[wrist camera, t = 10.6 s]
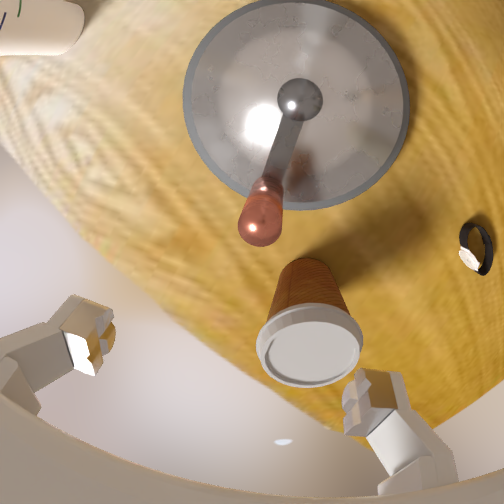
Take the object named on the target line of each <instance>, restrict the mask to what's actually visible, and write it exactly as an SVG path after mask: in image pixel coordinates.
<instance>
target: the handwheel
mask: <svg viewBox="0 0 504 504" xmlns="http://www.w3.org/2000/svg"><path fill="white" fill-rule="evenodd" d="M191 103H192V113H193V119H194V124H195V127H196V130H197V133H198V135H199V138H200V140H201V142H202V144H203V146H204V148H205V149H206V151H207V152H208V154H209V155H210V157H211V158H212V159H213V161H214V162H215V163H216V164H217V165H218V166H219V168H220V169H221V170H222V171H224V172H225V173H226V174H227V175H228V176H229V177H230V178H231V179H233V180H234V181H236V182H237V183H238V184H240V185H241V186H243V187H245V188H247V189H249V190H250V193H249V195H248V198H247V200H246V203H245V205H244V208H243V210H242V213H241V215H240V218H239V221H238V231H239V233H240V235H241V237H242V238H243V239H244V240H245V241H246V242H247V243H249V244H251V245H253V246H258V247H264V246H268V245H270V244H272V243H274V242H275V241H276V240H277V239H278V238H279V236H280V234H281V231H282V215H283V201H286V202H299V203H307V202H318V201H323V200H327V199H332V198H335V197H337V196H340V195H343V194H345V193H347V192H349V191H351V190H353V189H355V188H357V187H358V186H360V185H361V184H363V183H364V182H366V181H367V180H368V179H369V178H370V177H372V176H373V175H374V174H375V173H376V172H377V171H378V170H379V169H380V167H381V166H382V165H383V164H384V163H385V161H386V160H387V158H388V157H389V155H390V154H391V152H392V150H393V148H394V146H395V144H396V142H397V139H398V136H399V132H400V129H401V124H402V118H403V96H402V89H401V85H400V81H399V77H398V74H397V72H396V69H395V67H394V64H393V62H392V61H391V59H390V57H389V55H388V54H387V52H386V51H385V49H384V48H383V47H382V45H381V44H380V43H379V41H378V40H377V39H376V38H375V37H374V36H373V35H372V34H371V33H370V32H369V31H368V30H366V29H365V28H364V27H363V26H361V25H360V24H359V23H358V22H356V21H354V20H353V19H351V18H349V17H348V16H346V15H344V14H342V13H339V12H337V11H335V10H332V9H329V8H326V7H323V6H319V5H314V4H307V3H279V4H273V5H268V6H264V7H260V8H258V9H255V10H252V11H250V12H247V13H246V14H244V15H242V16H240V17H238V18H236V19H235V20H234V21H232V22H231V23H229V24H228V25H227V26H225V27H224V28H223V29H222V30H221V31H220V32H219V33H218V34H217V35H216V36H215V37H214V38H213V40H212V41H211V42H210V44H209V45H208V46H207V48H206V49H205V51H204V53H203V55H202V56H201V58H200V61H199V63H198V66H197V68H196V71H195V75H194V79H193V83H192V93H191Z"/></svg>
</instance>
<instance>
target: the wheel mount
mask: <svg viewBox="0 0 504 504" xmlns="http://www.w3.org/2000/svg"><path fill="white" fill-rule="evenodd" d="M279 3H307V4H314V5H319V6H323V7H326V8H329V9H332V10H335V11H337V12H339V13H342V14H344V15H346V16H348V17H349V18H351V19H353V20H354V21H356V22H358V23H359V24H360V25H361V26H363V27H364V28H365V29H366V30H368V31H369V32H370V33H371V34H372V35H373V36H374V37H375V38H376V39H377V40H378V41H379V43H380V44H381V45H382V47H383V48H384V49H385V51H386V52H387V54H388V55H389V57H390V59H391V61H392V62H393V64H394V67H395V69H396V72H397V74H398V77H399V81H400V85H401V89H402V96H403V118H402V124H401V129H400V132H399V136H398V139H397V142H396V144H395V146H394V148H393V150H392V152H391V154H390V155H389V157H388V158H387V160H386V161H385V163H384V164H383V165H382V166H381V167H380V169H379V170H378V171H377V172H376V173H375V174H374V175H373V176H372V177H370V178H369V179H368V180H367V181H366V182H364V183H363V184H361V185H360V186H358V187H357V188H355V189H353V190H351V191H349V192H347V193H345V194H343V195H340V196H337V197H335V198H332V199H327V200H323V201H318V202H307V203H299V202H286V201H283V209H285V210H299V211H301V210H316V209H322V208H328V207H331V206H334V205H338V204H341V203H343V202H346V201H348V200H350V199H352V198H355V197H356V196H358V195H360V194H361V193H363V192H365V191H366V190H367V189H369V188H370V187H371V186H372V185H374V184H375V183H376V182H377V181H378V180H379V179H380V178H381V177H382V176H383V175H384V174H385V173H386V172H387V171H388V169H389V168H390V166H391V165H392V164H393V162H394V161H395V159H396V157H397V155H398V154H399V152H400V150H401V148H402V145H403V142H404V140H405V137H406V133H407V129H408V124H409V115H410V100H409V91H408V86H407V81H406V78H405V75H404V72H403V69H402V67H401V65H400V62H399V60H398V58H397V56H396V55H395V53H394V51H393V50H392V48H391V47H390V46H389V44H388V43H387V41H386V40H385V39H384V38H383V37H382V36H381V34H380V33H379V32H378V31H377V30H376V29H375V28H374V27H372V26H371V25H370V24H369V23H368V22H367V21H365V20H364V19H362V18H361V17H359V16H358V15H356V14H355V13H353V12H352V11H350V10H348V9H346V8H343V7H341V6H339V5H337V4H334V3H331V2H328V1H325V0H260V1H257V2H254V3H251V4H248V5H246V6H244V7H242V8H240V9H238V10H236V11H234V12H232V13H231V14H229V15H228V16H226V17H225V18H223V19H222V20H221V21H220V22H219V23H217V24H216V25H215V26H214V27H213V28H212V29H211V30H210V31H209V32H208V33H207V35H206V36H205V37H204V38H203V39H202V41H201V42H200V44H199V46H198V47H197V49H196V50H195V52H194V54H193V56H192V59H191V61H190V63H189V65H188V69H187V72H186V76H185V80H184V88H183V111H184V118H185V123H186V126H187V130H188V133H189V136H190V138H191V140H192V143H193V145H194V147H195V149H196V151H197V152H198V154H199V156H200V157H201V159H202V160H203V162H204V163H205V164H206V165H207V167H208V168H209V169H210V170H211V171H212V172H213V173H214V174H215V175H216V176H217V177H218V178H219V179H220V180H221V181H222V182H223V183H225V184H226V185H227V186H228V187H230V188H231V189H232V190H234V191H236V192H237V193H239V194H241V195H242V196H244V197H246V198H248V195H249V193H250V190H249V189H247V188H245V187H243V186H241V185H240V184H238V183H237V182H236V181H234V180H233V179H231V178H230V177H229V176H228V175H227V174H226V173H225V172H224V171H222V170H221V169H220V168H219V166H218V165H217V164H216V163H215V162H214V161H213V159H212V158H211V157H210V155H209V154H208V152H207V151H206V149H205V148H204V146H203V144H202V142H201V140H200V138H199V135H198V133H197V130H196V127H195V124H194V119H193V113H192V103H191V93H192V83H193V79H194V75H195V71H196V68H197V66H198V63H199V61H200V58H201V56H202V55H203V53H204V51H205V49H206V48H207V46H208V45H209V44H210V42H211V41H212V40H213V38H214V37H215V36H216V35H217V34H218V33H219V32H220V31H221V30H222V29H223V28H224V27H225V26H227V25H228V24H229V23H231V22H232V21H234V20H235V19H236V18H238V17H240V16H242V15H244V14H246V13H247V12H250V11H252V10H255V9H258V8H260V7H264V6H268V5H273V4H279Z"/></svg>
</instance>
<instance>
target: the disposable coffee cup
mask: <svg viewBox="0 0 504 504" xmlns="http://www.w3.org/2000/svg"><path fill="white" fill-rule="evenodd" d="M362 346H363V335H362V331H361V329H360V327H359V325H358V323H357V322H356V321H355V320H354V319H353V318H352V317H351V316H350V313H349V311H348V309H347V306H346V304H345V302H344V300H343V297H342V295H341V293H340V290H339V289H338V286H337V284H336V282H335V280H334V278H333V275H332V273H331V271H330V269H329V268H328V267H327V266H326V265H325V264H324V263H323V262H321V261H319V260H316V259H312V258H303V259H298V260H295V261H293V262H291V263H289V264H288V265H287V266H286V267H285V268H284V269H283V270H282V272H281V274H280V277H279V281H278V285H277V288H276V291H275V295H274V298H273V301H272V305H271V308H270V311H269V315H268V318H267V322H266V324H265V325H264V326H263V327H262V329H261V330H260V332H259V335H258V337H257V341H256V351H257V354H258V357H259V359H260V360H261V364H262V366H263V368H264V370H265V371H266V372H267V374H268V375H270V376H271V377H272V378H273V379H275V380H276V381H278V382H281V383H283V384H286V385H289V386H293V387H300V388H312V387H321V386H324V385H328V384H331V383H334V382H336V381H337V380H339V379H341V378H343V377H344V376H346V375H347V374H348V373H349V372H350V371H352V369H353V368H354V367H355V365H356V364H357V362H358V359H359V356H360V352H361V349H362Z"/></svg>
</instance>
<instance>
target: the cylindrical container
mask: <svg viewBox="0 0 504 504" xmlns="http://www.w3.org/2000/svg"><path fill="white" fill-rule="evenodd" d="M84 19H85V16H84V11H83V9H82V8H81V7H80V6H79V5H77V4H74V3H71V2H67V1H64V0H0V56H1V55H60V54H63V53H65V52H66V51H68V50H69V49H70V48H71V47H72V46H73V45H74V44H75V42H76V41H77V39H78V38H79V36H80V34H81V32H82V29H83V26H84Z"/></svg>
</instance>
